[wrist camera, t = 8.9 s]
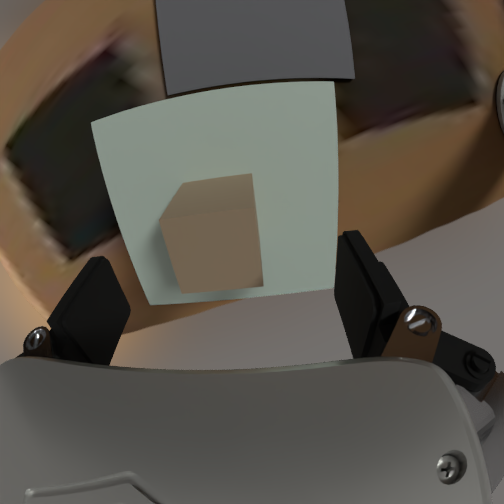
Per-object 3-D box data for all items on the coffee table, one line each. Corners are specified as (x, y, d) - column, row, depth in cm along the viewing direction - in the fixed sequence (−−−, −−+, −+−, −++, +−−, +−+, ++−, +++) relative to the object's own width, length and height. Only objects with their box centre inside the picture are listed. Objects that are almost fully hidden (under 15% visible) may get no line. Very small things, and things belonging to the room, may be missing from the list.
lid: (327, 82, 13) (372, 77, 8) (329, 278, 21) (352, 339, 15) (100, 120, 14) (39, 139, 9) (153, 295, 21) (132, 355, 16)
